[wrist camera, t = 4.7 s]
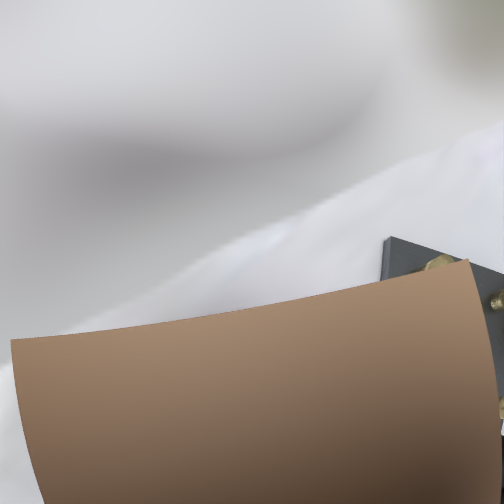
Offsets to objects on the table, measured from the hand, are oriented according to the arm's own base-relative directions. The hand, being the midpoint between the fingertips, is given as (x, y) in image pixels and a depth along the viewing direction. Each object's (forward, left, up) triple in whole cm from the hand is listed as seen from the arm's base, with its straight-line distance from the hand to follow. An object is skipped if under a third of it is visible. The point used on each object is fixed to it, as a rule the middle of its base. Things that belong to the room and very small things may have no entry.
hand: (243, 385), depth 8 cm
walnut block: (-2, 0, -7) cm, 7 cm away
